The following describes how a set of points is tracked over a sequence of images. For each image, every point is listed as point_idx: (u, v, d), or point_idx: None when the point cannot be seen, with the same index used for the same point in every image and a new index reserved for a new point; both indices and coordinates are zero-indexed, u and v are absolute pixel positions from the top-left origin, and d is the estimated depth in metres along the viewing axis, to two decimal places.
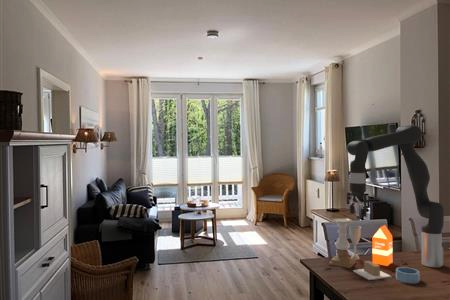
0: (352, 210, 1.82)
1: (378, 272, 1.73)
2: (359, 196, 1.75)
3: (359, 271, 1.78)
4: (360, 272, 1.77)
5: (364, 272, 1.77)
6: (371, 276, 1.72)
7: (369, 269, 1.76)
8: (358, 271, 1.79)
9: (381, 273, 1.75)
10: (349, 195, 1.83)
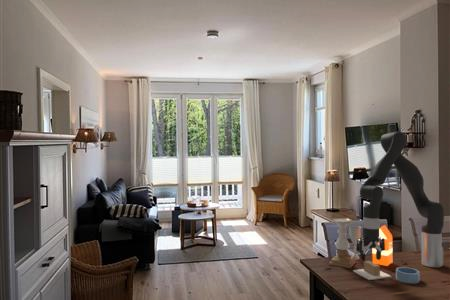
0: None
1: (378, 272, 1.73)
2: (376, 240, 1.76)
3: (359, 271, 1.78)
4: (360, 272, 1.77)
5: (364, 272, 1.77)
6: (371, 276, 1.72)
7: (369, 269, 1.76)
8: (358, 271, 1.79)
9: (381, 273, 1.75)
10: (362, 242, 1.74)
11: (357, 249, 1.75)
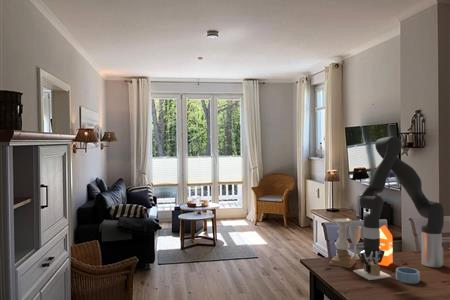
0: None
1: (378, 272, 1.73)
2: (377, 251, 1.76)
3: (359, 271, 1.78)
4: (360, 272, 1.77)
5: (364, 272, 1.77)
6: (371, 276, 1.72)
7: None
8: (358, 271, 1.79)
9: (381, 273, 1.75)
10: (363, 254, 1.74)
11: (362, 261, 1.76)
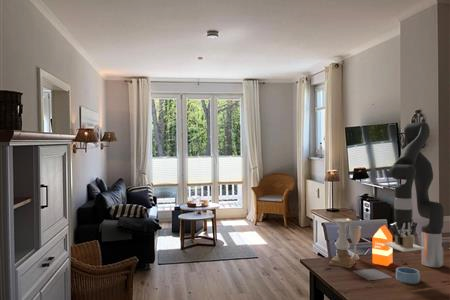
0: None
1: (411, 244, 1.66)
2: (410, 223, 1.69)
3: (390, 244, 1.72)
4: (392, 245, 1.71)
5: (396, 245, 1.70)
6: (404, 248, 1.65)
7: None
8: (390, 244, 1.72)
9: (414, 246, 1.69)
10: (395, 226, 1.68)
11: (394, 233, 1.69)
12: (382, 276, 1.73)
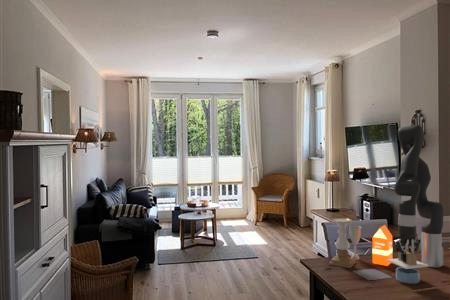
0: None
1: (415, 261, 1.65)
2: (413, 240, 1.69)
3: (394, 260, 1.71)
4: (395, 261, 1.70)
5: (399, 261, 1.70)
6: (407, 265, 1.64)
7: None
8: (393, 260, 1.71)
9: (417, 262, 1.68)
10: (399, 243, 1.67)
11: (397, 250, 1.68)
12: (382, 276, 1.73)
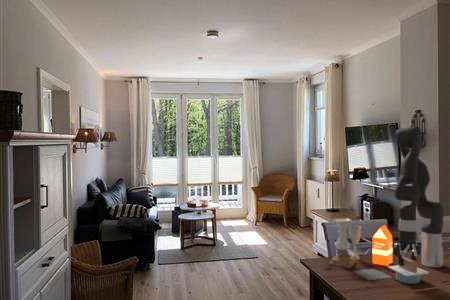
0: None
1: (415, 268, 1.65)
2: (414, 243, 1.68)
3: (394, 267, 1.71)
4: (396, 268, 1.70)
5: (400, 268, 1.69)
6: (408, 272, 1.64)
7: (405, 265, 1.68)
8: (393, 267, 1.71)
9: (418, 269, 1.68)
10: (399, 246, 1.67)
11: (395, 254, 1.68)
12: (382, 276, 1.73)
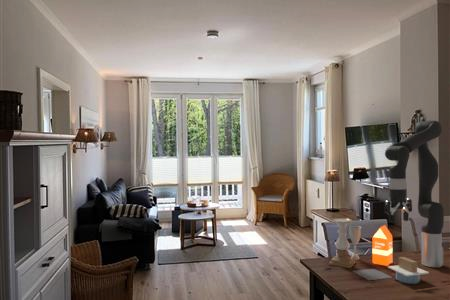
0: None
1: (415, 268, 1.65)
2: (404, 201, 1.74)
3: (394, 267, 1.71)
4: (396, 268, 1.70)
5: (400, 268, 1.69)
6: (408, 272, 1.64)
7: (405, 265, 1.68)
8: (393, 267, 1.71)
9: (418, 269, 1.68)
10: (390, 204, 1.72)
11: (385, 211, 1.73)
12: (382, 276, 1.73)
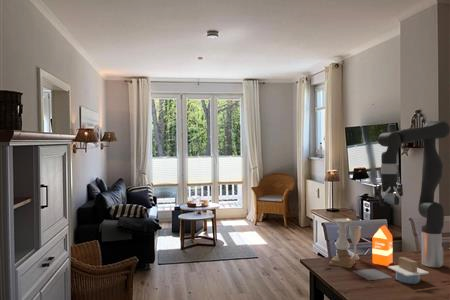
0: None
1: (415, 268, 1.65)
2: (395, 186, 1.81)
3: (394, 267, 1.71)
4: (396, 268, 1.70)
5: (400, 268, 1.69)
6: (408, 272, 1.64)
7: (405, 265, 1.68)
8: (393, 267, 1.71)
9: (418, 269, 1.68)
10: (381, 187, 1.79)
11: (376, 194, 1.80)
12: (382, 276, 1.73)
